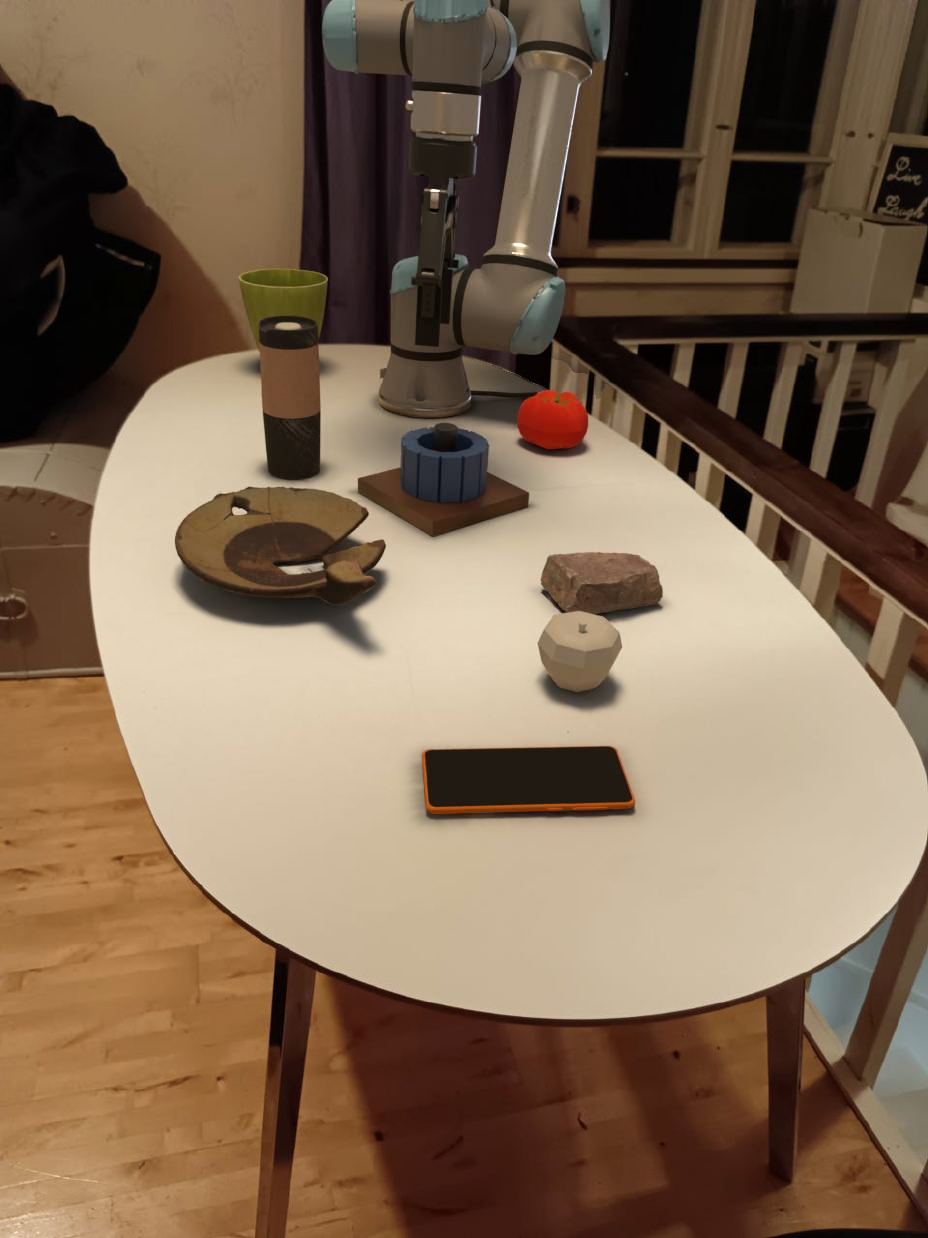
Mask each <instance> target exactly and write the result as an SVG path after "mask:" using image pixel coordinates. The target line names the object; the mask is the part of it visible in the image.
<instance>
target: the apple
mask: <svg viewBox="0 0 928 1238" xmlns="http://www.w3.org/2000/svg"><path fill="white" fill-rule="evenodd" d="M537 647H538V652H539V656H540V657H539V658H540V661H541V663H542V665H543V667H544V669H545V671H546V673H547V675H549V677H550V678H551V680H552V681H553V682H554V684H556V686H557V687H559V688H560V689H564V690H566V691H570V692H574V693H580V692H584V691H585V692H586V691H590V690H593V689H595V688H597V687H599V685H600V684H601V683H602V682H603V681H605V680H606V678H607V676H608V674H609V673H610V671H611V669H612V668H613V666H614V663H615V662H616V660H617V658H618V656H619V654H620V652H621V650H622V648H623V644H622V637H621V633H620V631H619V630H618V629H617V628H616V626H613V624H612V623H611V622H610V621H609V620H608V619H607V618H606V617H605V616H601V615H598V614H596V615H594V614H590V613H586V612H582V611H574V612H568V613H567V612H563V613H557V614H554V615H552V616H551V618H550V620H549V621H548V622H547V624H546V625H545V627H544V628H543V630H542V632H541V634H540V637H539V639H538V641H537Z"/></svg>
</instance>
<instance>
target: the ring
mask: <svg viewBox="0 0 928 1238" xmlns="http://www.w3.org/2000/svg"><path fill="white" fill-rule="evenodd" d="M433 439H434V426H429V427H420V428H416V429H412V430H411V431H408V432H406V433H405V434H404V435H403V436H402V437H401V439H400V467H401V471H400V483H401V486H402V490H404V491H405V492H406V493H408V494H410V495H412V496H414V497H415V498H416V497H419V499H423V500H428V501H433V502H437V501H438V500H440V503H446V502H460V501H462V502H464V501H467V500H471V499H474V498H477V497H478V496H480V495H481V494H482V493H483V492H484V491H485V490H486V483H487V472H488V468H489V455H490V453H489V452H490V443H489V442H488V440H487V438H486V437H484V435H481V434H480V433H477V432H475V431H473V430H469V429H464V428H460V427H459V428H458V431H457V450H456V452H439V451H433Z"/></svg>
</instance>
